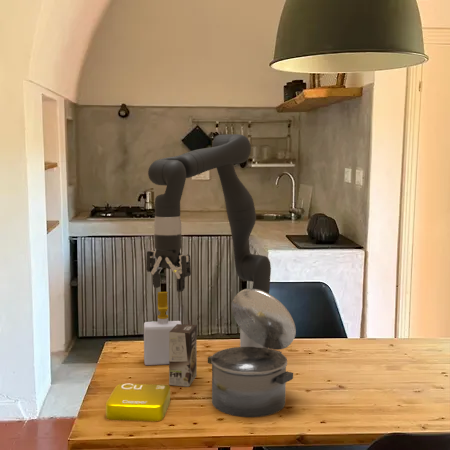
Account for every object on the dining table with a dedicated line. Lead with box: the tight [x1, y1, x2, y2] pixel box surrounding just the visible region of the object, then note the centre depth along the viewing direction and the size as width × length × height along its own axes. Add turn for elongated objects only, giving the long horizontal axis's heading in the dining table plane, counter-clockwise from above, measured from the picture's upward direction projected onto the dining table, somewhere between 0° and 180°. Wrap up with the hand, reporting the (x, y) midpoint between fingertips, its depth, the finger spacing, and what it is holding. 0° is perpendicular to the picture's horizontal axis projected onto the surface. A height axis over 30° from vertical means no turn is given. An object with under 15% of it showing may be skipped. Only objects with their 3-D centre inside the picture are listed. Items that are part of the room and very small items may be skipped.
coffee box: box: [168, 323, 198, 388], centre depth 179 cm, size 9×6×16 cm
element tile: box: [105, 382, 171, 422], centre depth 160 cm, size 15×15×5 cm
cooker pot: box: [207, 346, 294, 418], centre depth 165 cm, size 22×25×12 cm
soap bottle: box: [143, 291, 182, 366], centre depth 195 cm, size 12×7×23 cm, turn 99°
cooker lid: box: [231, 288, 297, 351], centre depth 168 cm, size 20×20×3 cm
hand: (168, 289), depth 170 cm, fingers open, 8 cm apart
